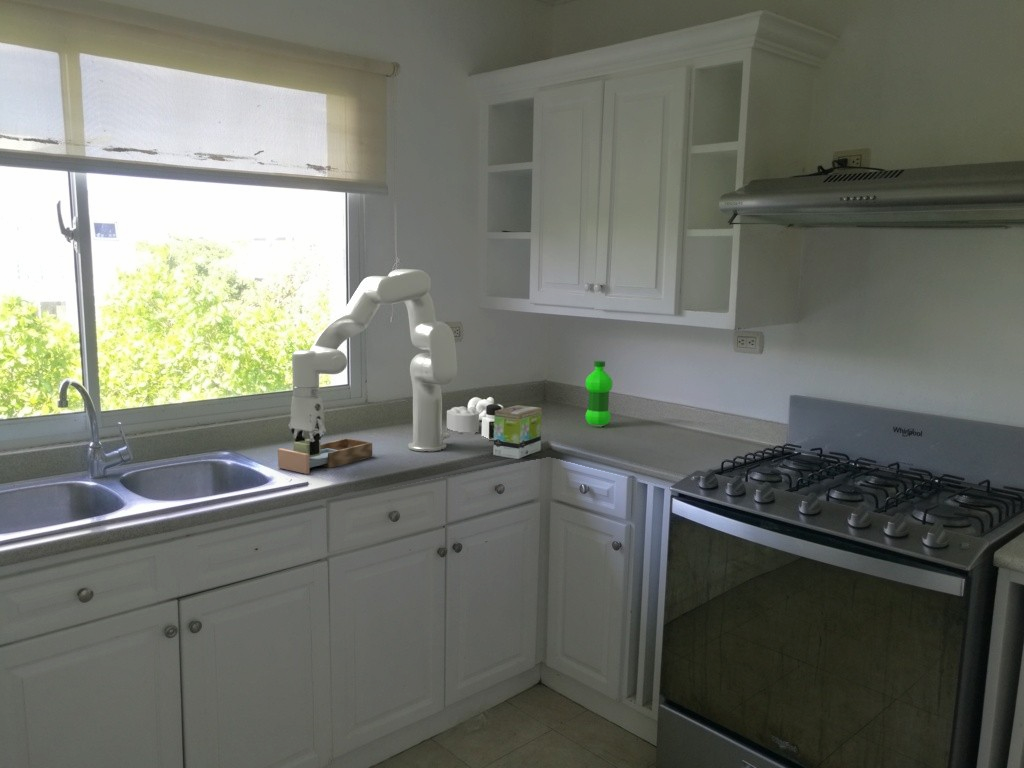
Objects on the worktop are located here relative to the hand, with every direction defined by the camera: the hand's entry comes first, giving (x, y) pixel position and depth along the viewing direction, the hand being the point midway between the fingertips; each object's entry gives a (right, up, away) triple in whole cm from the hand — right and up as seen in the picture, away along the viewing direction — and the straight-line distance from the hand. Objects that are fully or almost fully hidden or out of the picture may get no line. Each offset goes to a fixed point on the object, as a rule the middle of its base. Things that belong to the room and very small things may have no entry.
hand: (307, 452), depth 235 cm
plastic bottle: (+94, +4, +69) cm, 117 cm away
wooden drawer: (+2, -4, +3) cm, 5 cm away
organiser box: (+7, -3, +11) cm, 13 cm away
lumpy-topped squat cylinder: (+43, +3, +57) cm, 71 cm away
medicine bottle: (+54, +1, +45) cm, 71 cm away
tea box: (+62, -3, +23) cm, 67 cm away
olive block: (0, -1, 0) cm, 1 cm away
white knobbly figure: (+49, +6, +78) cm, 92 cm away
